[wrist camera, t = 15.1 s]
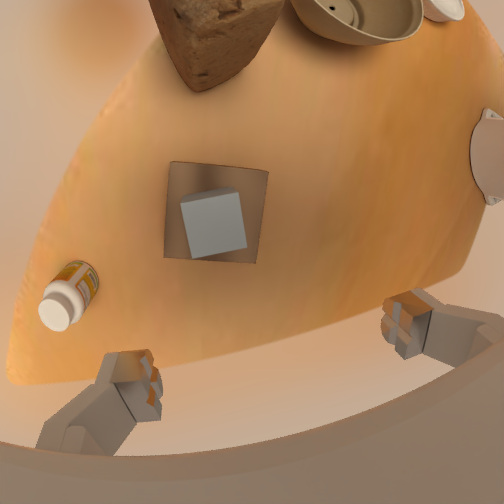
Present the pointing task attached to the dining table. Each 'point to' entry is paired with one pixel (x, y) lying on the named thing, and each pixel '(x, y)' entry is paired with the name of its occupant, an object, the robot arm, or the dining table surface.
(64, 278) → the supplement bottle
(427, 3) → the ramekin
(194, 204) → the slate cube
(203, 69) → the brown rounded block
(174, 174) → the walnut block
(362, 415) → the robot arm
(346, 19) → the planter bowl
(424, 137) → the dining table surface
